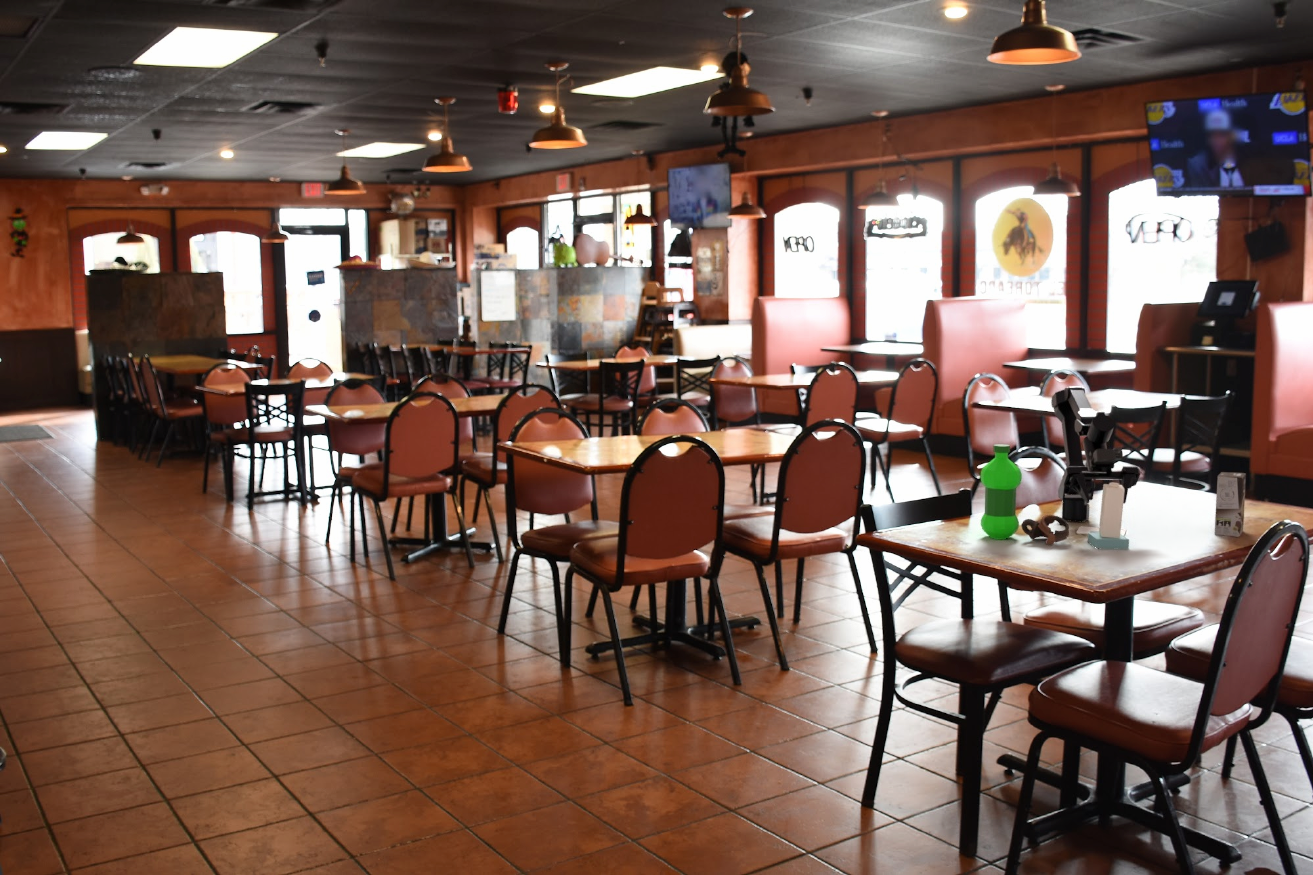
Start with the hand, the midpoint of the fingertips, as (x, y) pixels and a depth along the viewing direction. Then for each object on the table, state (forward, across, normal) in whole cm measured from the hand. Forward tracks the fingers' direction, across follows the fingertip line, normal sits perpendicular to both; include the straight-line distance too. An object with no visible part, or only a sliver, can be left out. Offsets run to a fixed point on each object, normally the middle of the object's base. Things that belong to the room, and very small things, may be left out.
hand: (1106, 502), depth 309 cm
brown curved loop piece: (+7, -15, +8) cm, 19 cm away
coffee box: (-2, +36, +18) cm, 41 cm away
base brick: (+10, 0, +6) cm, 12 cm away
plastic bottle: (+4, -26, +12) cm, 29 cm away
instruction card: (-2, +3, +17) cm, 18 cm away
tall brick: (+8, 0, +4) cm, 9 cm away
